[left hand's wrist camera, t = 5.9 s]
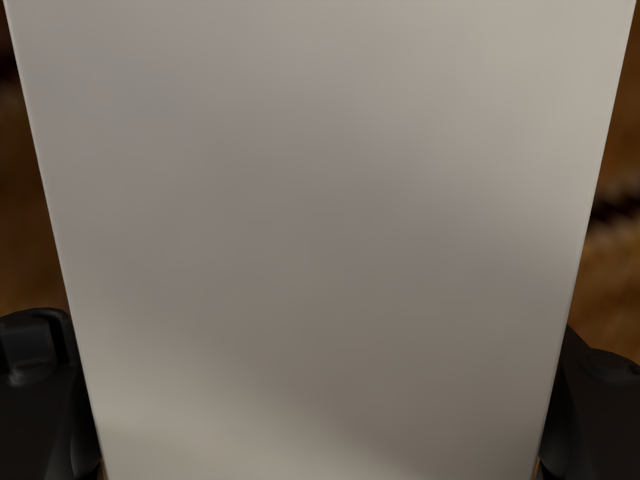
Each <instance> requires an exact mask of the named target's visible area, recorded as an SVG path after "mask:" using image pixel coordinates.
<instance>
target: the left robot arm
mask: <svg viewBox="0 0 640 480" xmlns="http://www.w3.org/2000/svg"><path fill="white" fill-rule="evenodd" d="M538 456H539V457H540V462H539V466H538V471H537V475H536V480H640V366H639V365H638V364H636V363H634V362H633V361H631V360H630V359H627V358H625V357H622V356H620V355H618V354H615V353H612V352H608V351H604V350H600V349H593V348H590V347H589V346H588V345H587V344H586V343H585V342H584V341H583V340H582V339H581V338H580V337H579V336H578V335H577V334H576V333H575V331H574V330H573V329H572V328H571V327H570V326H569V325H568V324H567V323H566V327H565V332H564V337H563V341H562V346H561V351H560V355H559V360H558V365H557V369H556V374H555V378H554V383H553V388H552V392H551V397H550V402H549V406H548V411H547V415H546V420H545V425H544V429H543V434H542V439H541V443H540V448H539V453H538ZM101 458H102V455H101V450H100V446H99V441H98V437H97V432H96V427H95V423H94V418H93V413H92V409H91V404H90V400H89V395H88V390H87V386H86V381H85V376H84V372H83V367H82V363H81V358H80V353H79V349H78V344H77V339H76V335H75V330H74V326H72V327H71V324H70V320H69V315H68V314H67V313H66V312H64V311H63V310H61V309H55V308H49V307H48V308H32V309H27V310H22V311H18V312H14V313H11V314H8V315H5V316H2V317H0V480H104V478H103V471H102V466H101V462H100V459H101Z"/></svg>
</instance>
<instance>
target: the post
mask: <svg viewBox="0 0 640 480" xmlns="http://www.w3.org/2000/svg"><path fill="white" fill-rule="evenodd" d="M3 2H4V7H5V11H6V16H7V20H8V25H9V30H10V34H11V39H12V44H13V48H14V53H15V57H16V62H17V67H18V71H19V76H20V81H21V85H22V90H23V94H24V99H25V104H26V108H27V113H28V118H29V122H30V127H31V131H32V136H33V141H34V145H35V150H36V155H37V159H38V164H39V168H40V173H41V178H42V182H43V187H44V192H45V196H46V201H47V205H48V210H49V215H50V219H51V224H52V229H53V233H54V238H55V242H56V247H57V252H58V256H59V261H60V266H61V270H62V275H63V279H64V284H65V289H66V293H67V298H68V302H69V307H70V312H71V316H72V321H73V326H74V330H75V335H76V339H77V344H78V349H79V353H80V358H81V363H82V367H83V372H84V376H85V381H86V386H87V390H88V395H89V400H90V404H91V409H92V413H93V418H94V423H95V427H96V432H97V437H98V441H99V446H100V450H101V455H102V460H103V464H104V469H105V474H106V478H107V480H533V476H534V471H535V466H536V462H537V457H538V453H539V448H540V443H541V439H542V434H543V429H544V425H545V420H546V415H547V411H548V406H549V402H550V397H551V392H552V388H553V383H554V378H555V374H556V369H557V365H558V360H559V355H560V351H561V346H562V341H563V337H564V332H565V327H566V323H567V318H568V314H569V309H570V304H571V300H572V295H573V290H574V286H575V281H576V277H577V272H578V267H579V263H580V258H581V253H582V249H583V244H584V239H585V235H586V230H587V226H588V221H589V216H590V212H591V207H592V202H593V198H594V193H595V189H596V184H597V179H598V175H599V170H600V165H601V161H602V156H603V151H604V147H605V142H606V138H607V133H608V128H609V124H610V119H611V114H612V110H613V105H614V101H615V96H616V91H617V87H618V82H619V77H620V73H621V68H622V63H623V59H624V54H625V50H626V45H627V40H628V36H629V31H630V26H631V22H632V17H633V13H634V8H635V3H636V0H3Z"/></svg>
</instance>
